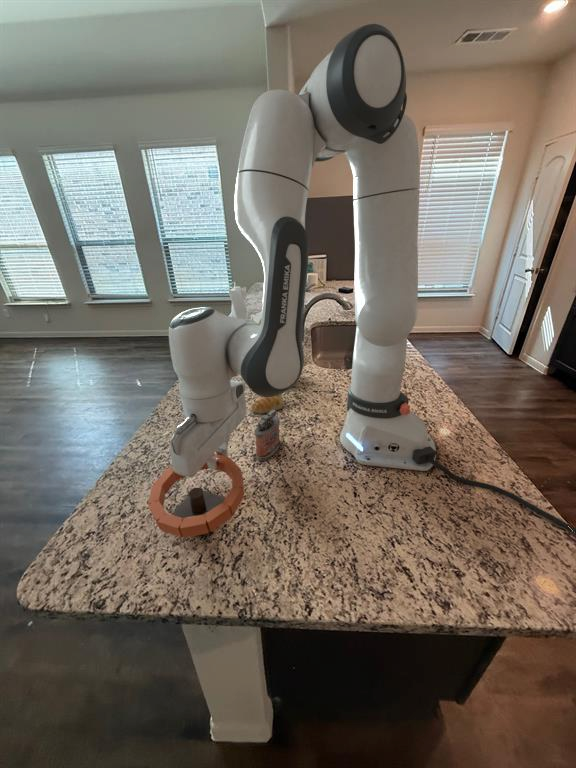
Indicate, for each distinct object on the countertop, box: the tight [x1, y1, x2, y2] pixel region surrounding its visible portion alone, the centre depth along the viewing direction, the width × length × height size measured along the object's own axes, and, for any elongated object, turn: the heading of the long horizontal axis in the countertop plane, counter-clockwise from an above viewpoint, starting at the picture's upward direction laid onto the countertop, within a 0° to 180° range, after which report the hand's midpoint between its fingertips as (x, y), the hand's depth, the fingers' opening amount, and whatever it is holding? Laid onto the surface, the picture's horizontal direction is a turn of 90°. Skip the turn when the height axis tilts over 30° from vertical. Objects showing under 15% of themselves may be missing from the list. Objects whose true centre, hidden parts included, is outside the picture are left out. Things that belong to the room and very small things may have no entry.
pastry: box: [251, 394, 285, 415], centre depth 92 cm, size 9×7×4 cm
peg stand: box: [171, 487, 226, 536], centre depth 59 cm, size 8×8×5 cm
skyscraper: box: [227, 281, 250, 320], centre depth 130 cm, size 8×8×28 cm
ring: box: [147, 453, 245, 539], centre depth 57 cm, size 16×16×2 cm
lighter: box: [253, 410, 281, 462], centre depth 73 cm, size 8×3×10 cm, turn 148°
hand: (218, 461), depth 62 cm, fingers closed on ring, 2 cm apart
